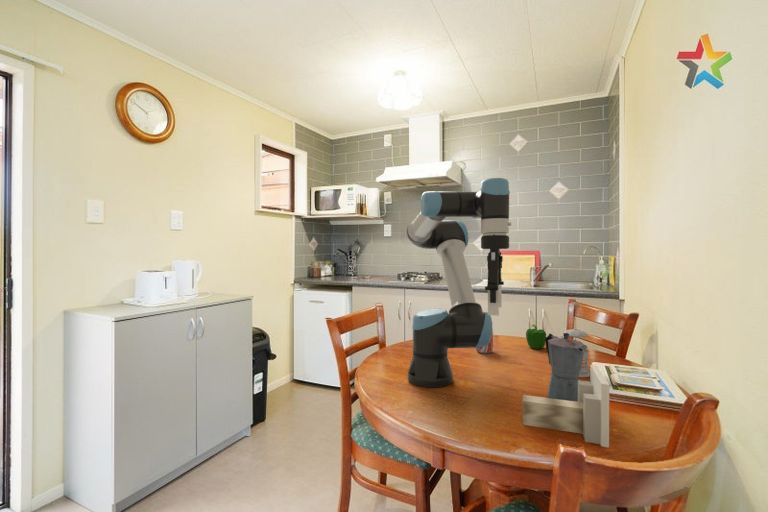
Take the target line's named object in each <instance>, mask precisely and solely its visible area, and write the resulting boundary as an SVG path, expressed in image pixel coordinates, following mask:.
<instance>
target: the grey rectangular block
mask: <svg viewBox="0 0 768 512" xmlns="http://www.w3.org/2000/svg"><path fill="white" fill-rule="evenodd" d="M522 425H523V426H528V427H536V428H543V429H548V430H556V431H563V432H570V433H576V434H582V435H583V402H575V401H567V400H559V399H551V398H548V397H542V396H533V395H527V394H522Z"/></svg>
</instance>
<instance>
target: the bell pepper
mask: <svg viewBox="0 0 768 512" xmlns="http://www.w3.org/2000/svg"><path fill="white" fill-rule="evenodd" d="M531 326H532V327H533V328H527V329H526V332H525V337H526V342H527V345H528V346H529V348H531V349H533V350H535V349H536V350H537V349H539V350H540V349H544V347H545V346H546V340H545V339H546V337H547V333H546V330H544V329H538V327H537V325H536V324H533V323H532V324H531Z"/></svg>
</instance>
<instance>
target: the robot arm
mask: <svg viewBox="0 0 768 512" xmlns="http://www.w3.org/2000/svg"><path fill="white" fill-rule="evenodd" d="M509 184H510V183H509V180H508V179H506V178H503V177H490V178H486V179H484V180H482V181H481V182H480V189H479V191H439V190H438V191H437V190H433V191H424V192H423V193H422V195H421V198H420V212H419V214H417V216H416V218H413V219H412V220H410V222H409V224H408V225H407V228H406V236H407V238H408V240H409V242H411V244H413V245H414V246H416V247H418V248H421V249H426V250H427V249H429V250H431V249H432V250H435V251H436V254H437V256H439V257H441V261H442V267H443V270H444V277H445V279H446V284H447V289H448V291H447V292H448V294H449V301H450V304H451V307H450V308H449V309H448V311H447V309H445V308H431V309H424V310H419V311H418V312H416V313H415V314H414V315H413V317H412V326H411V328H412V329H411V330H412V358H411V361H410V363H409V367H408V371H407V381H408V380H409V381H408V382H409V383H411V384H412V385H414V386H418V387H423V388H441V387H442V388H443V387H446V386H449V385H450V384H452V383H453V381H454V374H453V370H452V367H451V364H450V361H449V357H448V350H449V349H465V348H466V349H467V348H469V349H470V348H473V349H476V347H484V346H486V345H488V343H489V342H490V339H491V336H492V329H493V321H492V316H499V315H500V312H499V311H500V308H502V286H504V283H505V282H504V281H503V279H502V269H503V261H504V260H503V259H504V256H503V255H502V252H501V251H500V250H508V249H509V248H510V236H509V235H507V234H509V233H510V227H511V226H512V222H509V220H510V194H511V193H510V185H509ZM447 217H448V218H456V217H457V218H458V217H460V218H461V217H463V218H469V217H470V218H474V219H476V218H478V219H480V233H481V235H482V236H481V237H480V248H481V249H482V250H489V252H488V253H487V256H486V261H487V285H486V286H484V290H485V291H487V311H483V308H482V305H481V304H480V303H478V302H476V298H475V297H476V296H475V293H474V290H473V286H472V282H471V277H470V274H469V271H468V267H467V263H466V258H465V254H464V252H465V250H466V249H467V246H468V244H469V232H468V227H467V226H466V224H465V223H464V222H463V221H462V220H454V219H450V220H445V219H446V218H447Z"/></svg>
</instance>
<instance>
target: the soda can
mask: <svg viewBox="0 0 768 512" xmlns="http://www.w3.org/2000/svg"><path fill="white" fill-rule="evenodd" d="M493 329H494V328H492V336H491V339H490V342H489V343H488V345H486V346H484V347H476V348H475V350H476V351H477V352H478V353H480V354H490V353H491V352H493V350H494V349H493V347H494V332H493Z"/></svg>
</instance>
